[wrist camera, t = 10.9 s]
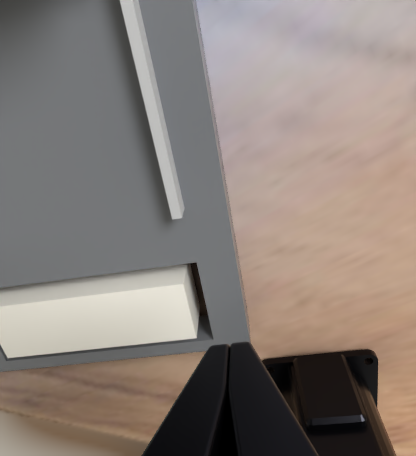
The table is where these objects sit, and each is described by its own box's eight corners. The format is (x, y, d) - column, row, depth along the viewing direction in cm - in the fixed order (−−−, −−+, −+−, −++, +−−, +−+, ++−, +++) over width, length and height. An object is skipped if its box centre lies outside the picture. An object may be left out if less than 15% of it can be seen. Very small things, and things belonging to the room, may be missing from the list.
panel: (248, 320, 21) (251, 361, 19) (0, 347, 23) (-30, 388, 20) (121, -445, 10) (83, -618, 8) (-335, -278, 12) (-498, -371, 9)
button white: (200, 306, 21) (196, 338, 19) (30, 325, 22) (7, 358, 20) (188, 256, 20) (183, 283, 17) (7, 279, 21) (-19, 308, 18)
